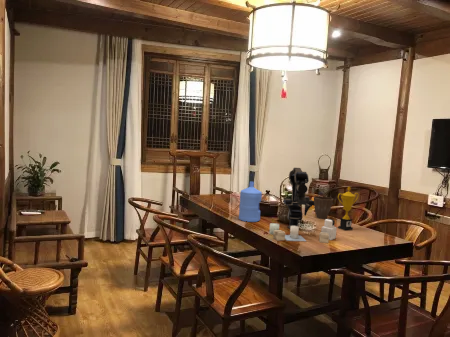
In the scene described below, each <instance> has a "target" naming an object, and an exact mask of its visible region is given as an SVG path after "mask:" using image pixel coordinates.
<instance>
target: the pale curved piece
mask: <svg viewBox="0 0 450 337" xmlns="http://www.w3.org/2000/svg"><path fill="white" fill-rule="evenodd" d="M274 230H280V223H275V222H271V223H269V231H268V232H269V234H270V235H272V236H273V234H274Z"/></svg>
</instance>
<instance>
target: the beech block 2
mask: <svg viewBox="0 0 450 337" xmlns="http://www.w3.org/2000/svg"><path fill="white" fill-rule="evenodd" d="M318 235H319V237H318V241H319V243H322V244H323V243H324V244H329V241H330V240H329V234H328V233H323V232H321V231H320V232H319V234H318Z"/></svg>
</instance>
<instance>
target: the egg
mask: <svg viewBox="0 0 450 337" xmlns="http://www.w3.org/2000/svg"><path fill="white" fill-rule="evenodd" d="M299 230H300V227H299V225H298V226H294V225H292V226H291V227H290V228H289V235H290V238H292V239H298V235H299Z"/></svg>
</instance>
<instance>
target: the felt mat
mask: <svg viewBox="0 0 450 337" xmlns="http://www.w3.org/2000/svg"><path fill="white" fill-rule="evenodd" d="M285 241H287V242H307V240H306V239H305V238H304V237H303V236H302V235H301V234H300V235H299V234H298V239H292V238H290V234H285Z"/></svg>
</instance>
